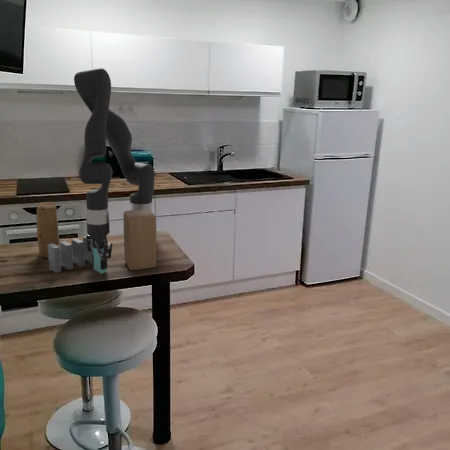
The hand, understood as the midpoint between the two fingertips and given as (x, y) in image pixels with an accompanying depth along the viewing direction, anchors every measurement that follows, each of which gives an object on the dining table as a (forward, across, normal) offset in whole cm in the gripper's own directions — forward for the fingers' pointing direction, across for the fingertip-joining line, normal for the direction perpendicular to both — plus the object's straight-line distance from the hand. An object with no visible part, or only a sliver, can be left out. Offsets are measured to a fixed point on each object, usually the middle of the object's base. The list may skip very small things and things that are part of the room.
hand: (99, 266), depth 159 cm
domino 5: (+2, 0, 0) cm, 2 cm away
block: (+2, +26, +6) cm, 27 cm away
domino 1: (+2, +10, +12) cm, 16 cm away
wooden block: (+2, -4, -14) cm, 15 cm away
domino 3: (+2, +10, +2) cm, 11 cm away
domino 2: (+2, +10, +7) cm, 13 cm away
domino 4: (+2, +10, -2) cm, 11 cm away
